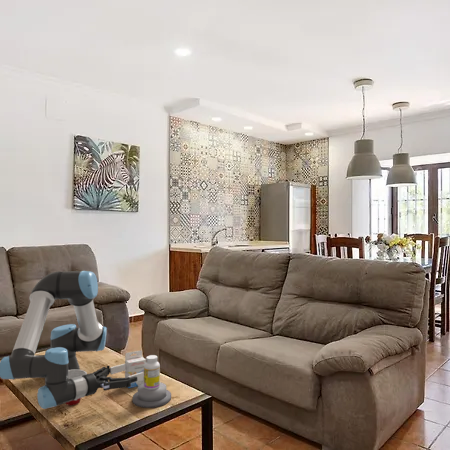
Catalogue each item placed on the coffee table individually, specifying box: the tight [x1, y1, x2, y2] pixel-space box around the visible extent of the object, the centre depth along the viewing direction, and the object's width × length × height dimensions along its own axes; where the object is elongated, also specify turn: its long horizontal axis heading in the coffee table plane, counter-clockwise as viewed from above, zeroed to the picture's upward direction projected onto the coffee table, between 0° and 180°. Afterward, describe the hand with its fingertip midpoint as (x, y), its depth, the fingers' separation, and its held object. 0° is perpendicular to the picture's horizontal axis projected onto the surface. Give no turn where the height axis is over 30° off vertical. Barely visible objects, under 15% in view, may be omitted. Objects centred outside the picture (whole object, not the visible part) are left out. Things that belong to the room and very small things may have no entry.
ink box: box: [124, 350, 147, 389], centre depth 183 cm, size 8×5×15 cm, turn 123°
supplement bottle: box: [144, 354, 161, 390], centre depth 168 cm, size 7×7×13 cm
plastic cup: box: [65, 369, 88, 406], centre depth 165 cm, size 11×11×12 cm
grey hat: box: [132, 381, 172, 409], centre depth 168 cm, size 16×16×5 cm
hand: (133, 371), depth 162 cm, fingers open, 13 cm apart
